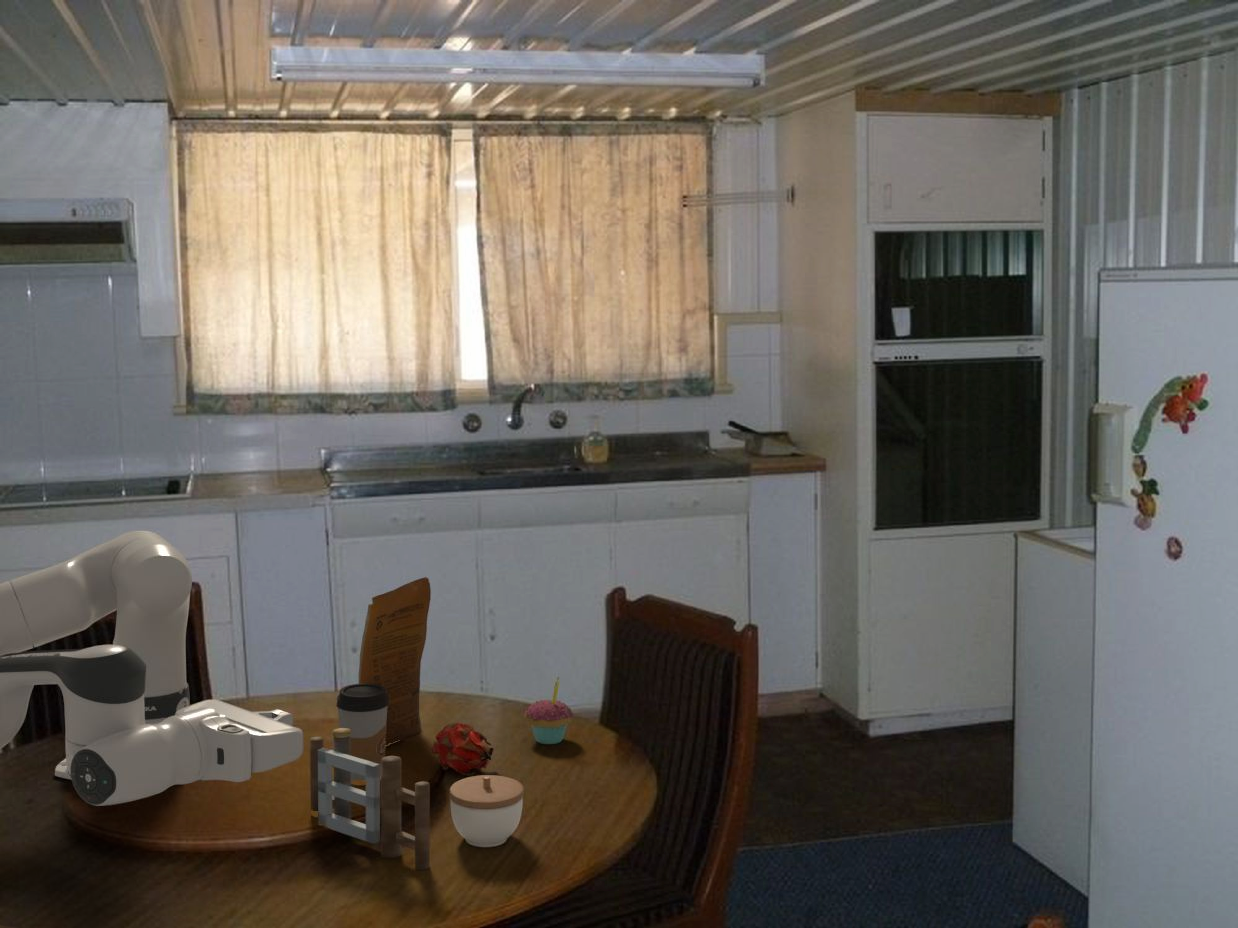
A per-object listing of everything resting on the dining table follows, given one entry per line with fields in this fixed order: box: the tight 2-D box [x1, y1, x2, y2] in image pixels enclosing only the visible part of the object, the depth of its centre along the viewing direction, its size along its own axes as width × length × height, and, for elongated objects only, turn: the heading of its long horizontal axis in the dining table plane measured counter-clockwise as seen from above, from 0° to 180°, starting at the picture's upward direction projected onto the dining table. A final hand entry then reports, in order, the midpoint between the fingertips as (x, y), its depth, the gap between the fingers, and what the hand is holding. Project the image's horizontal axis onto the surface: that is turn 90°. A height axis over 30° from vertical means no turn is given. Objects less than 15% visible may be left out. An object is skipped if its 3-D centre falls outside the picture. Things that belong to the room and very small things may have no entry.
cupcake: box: [523, 676, 574, 745], centre depth 240 cm, size 9×8×12 cm
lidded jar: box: [449, 774, 525, 848], centre depth 198 cm, size 11×11×9 cm
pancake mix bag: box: [357, 576, 432, 745], centre depth 238 cm, size 7×19×28 cm, turn 148°
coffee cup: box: [336, 683, 389, 781], centre depth 220 cm, size 8×8×15 cm
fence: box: [309, 727, 431, 871], centre depth 196 cm, size 27×5×15 cm, turn 52°
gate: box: [317, 747, 381, 844], centre depth 197 cm, size 11×1×12 cm, turn 56°
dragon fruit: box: [430, 721, 494, 777], centre depth 225 cm, size 8×8×12 cm
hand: (286, 716), depth 187 cm, fingers closed
